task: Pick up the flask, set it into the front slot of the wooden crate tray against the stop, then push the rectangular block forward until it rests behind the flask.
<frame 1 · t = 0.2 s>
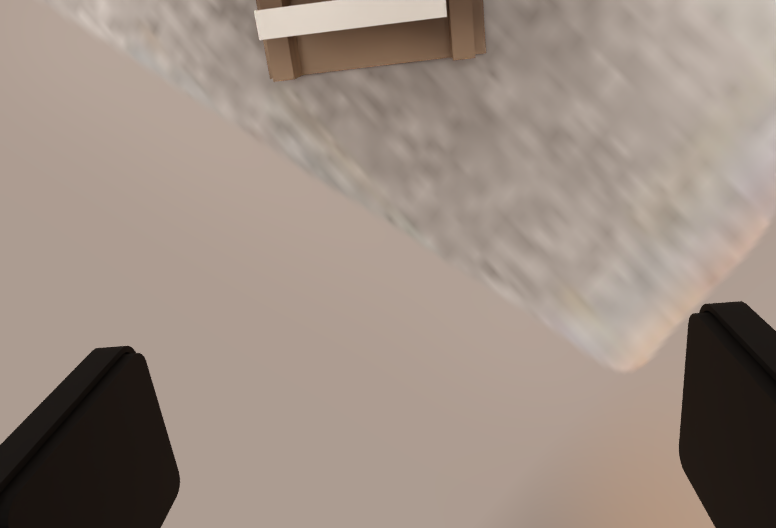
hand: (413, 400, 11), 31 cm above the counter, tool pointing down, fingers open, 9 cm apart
rectangular block: (361, 12, 31), point 6 cm above the counter, slide at 0.0 cm
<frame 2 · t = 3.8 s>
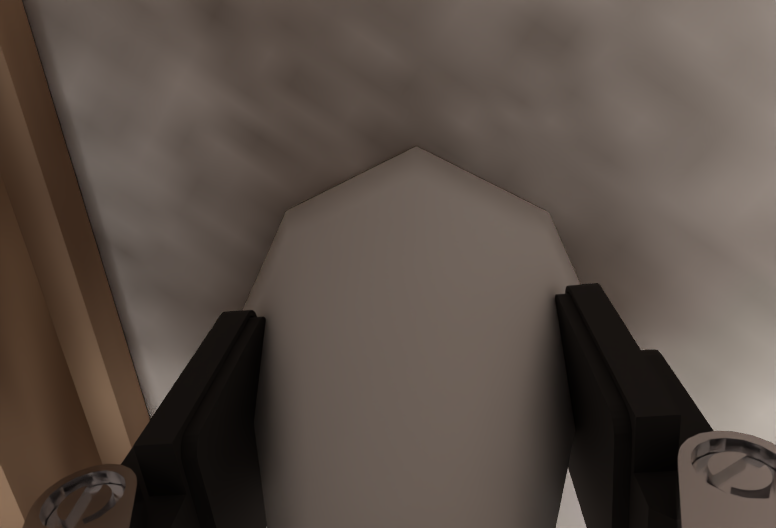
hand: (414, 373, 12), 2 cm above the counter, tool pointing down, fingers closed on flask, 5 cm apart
flask: (415, 317, 14), on the counter, touching gripper
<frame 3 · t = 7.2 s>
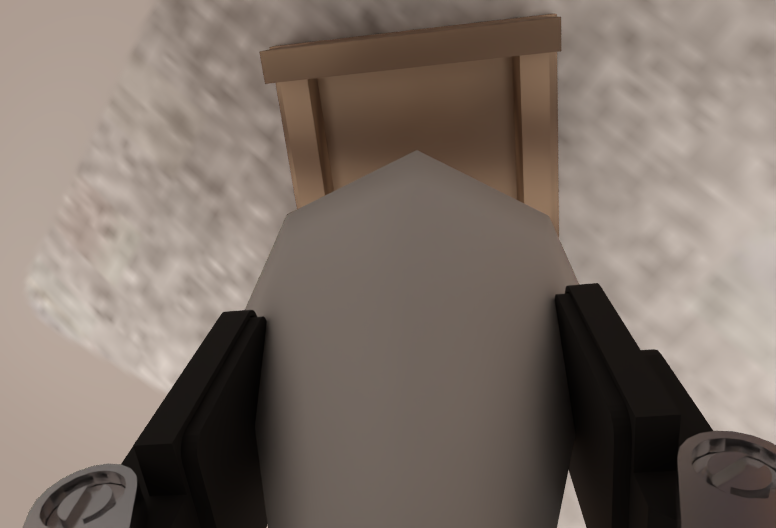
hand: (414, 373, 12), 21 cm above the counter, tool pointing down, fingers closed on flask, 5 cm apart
flask: (416, 320, 14), point 19 cm above the counter, touching gripper
wooden crate tray: (430, 250, 33), on the counter
when the fingers open (4 cm above the counter, at t = 10.6 s): flask drops 1 cm, resting on wooden crate tray.
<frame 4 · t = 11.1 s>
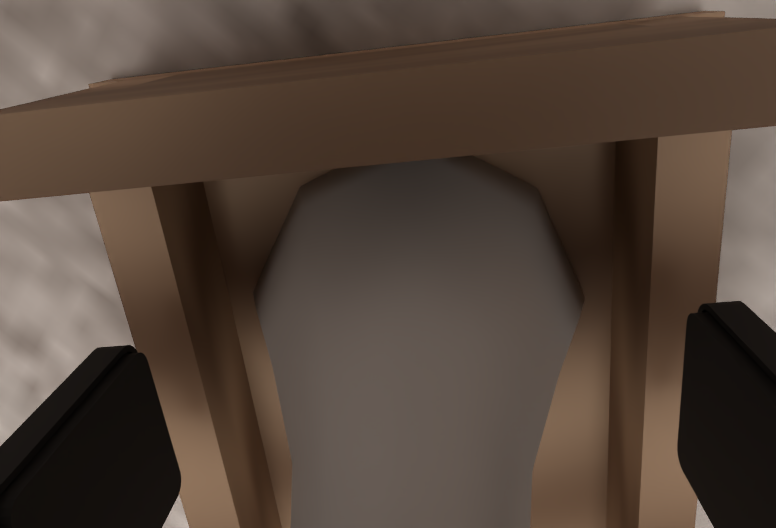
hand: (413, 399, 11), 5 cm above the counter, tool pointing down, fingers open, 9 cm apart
flask: (416, 286, 15), point 1 cm above the counter, touching wooden crate tray
wooden crate tray: (435, 454, 18), on the counter
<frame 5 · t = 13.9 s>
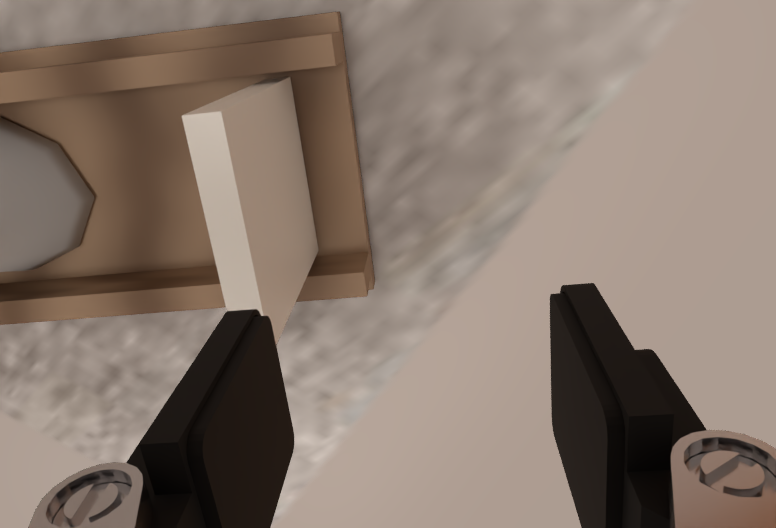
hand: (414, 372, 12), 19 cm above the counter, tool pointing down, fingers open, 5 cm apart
flask: (23, 193, 31), point 1 cm above the counter, touching wooden crate tray
rectangular block: (267, 199, 24), point 6 cm above the counter, slide at 0.0 cm
wooden crate tray: (139, 179, 31), on the counter
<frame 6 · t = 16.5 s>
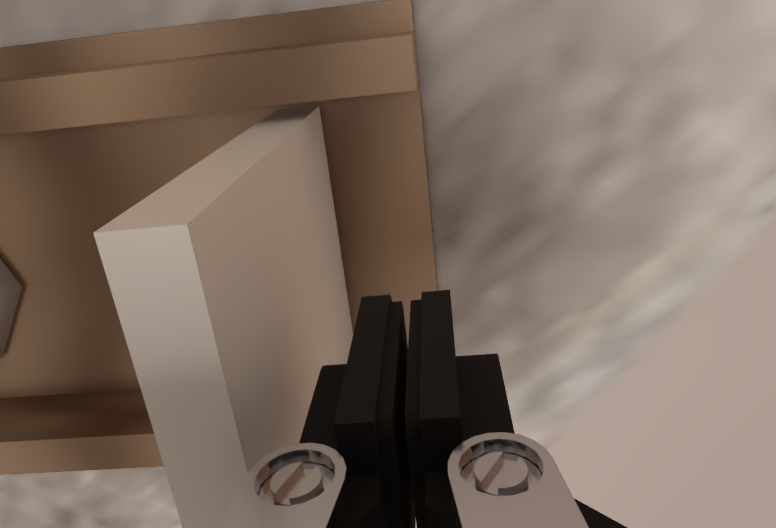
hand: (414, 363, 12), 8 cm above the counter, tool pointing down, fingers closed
rectangular block: (284, 330, 14), point 6 cm above the counter, slide at 0.3 cm, touching gripper
wooden crate tray: (93, 255, 20), on the counter
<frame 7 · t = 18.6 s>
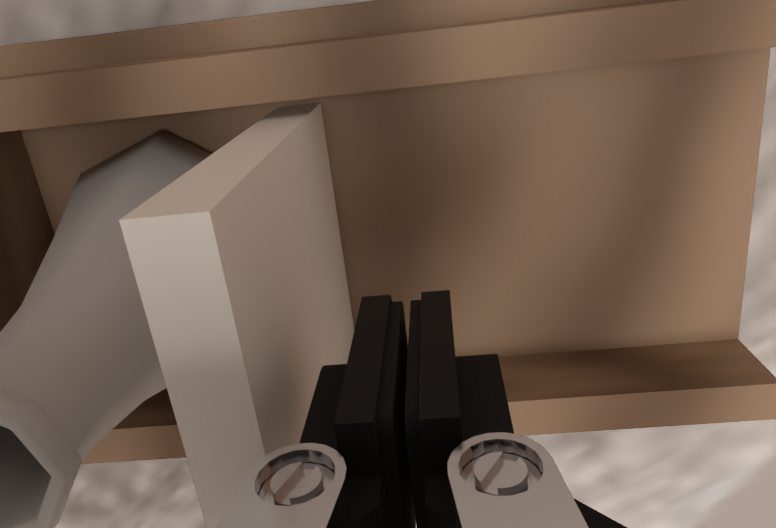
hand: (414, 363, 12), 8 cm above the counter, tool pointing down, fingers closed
flask: (184, 250, 19), point 1 cm above the counter, touching wooden crate tray, rectangular block
rectangular block: (290, 320, 14), point 6 cm above the counter, slide at 9.6 cm, touching gripper, flask
wooden crate tray: (376, 225, 20), on the counter
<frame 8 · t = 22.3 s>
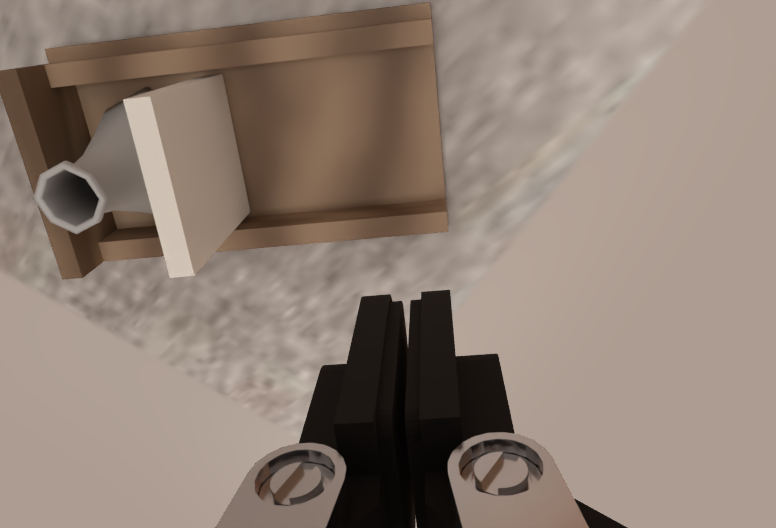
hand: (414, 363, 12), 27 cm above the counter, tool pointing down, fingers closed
flask: (158, 151, 38), point 1 cm above the counter, touching wooden crate tray
rectangular block: (198, 166, 32), point 6 cm above the counter, slide at 9.6 cm
wooden crate tray: (258, 139, 38), on the counter
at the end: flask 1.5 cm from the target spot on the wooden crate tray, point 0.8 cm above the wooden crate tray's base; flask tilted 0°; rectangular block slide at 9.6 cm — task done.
